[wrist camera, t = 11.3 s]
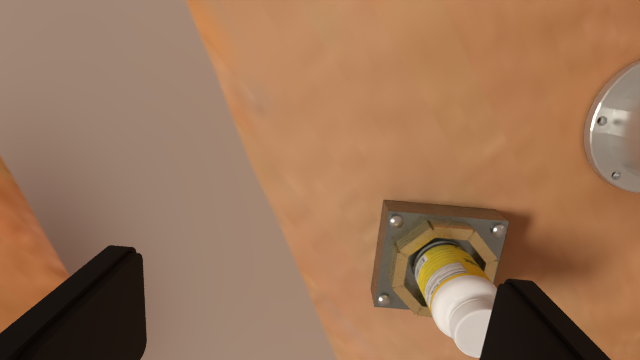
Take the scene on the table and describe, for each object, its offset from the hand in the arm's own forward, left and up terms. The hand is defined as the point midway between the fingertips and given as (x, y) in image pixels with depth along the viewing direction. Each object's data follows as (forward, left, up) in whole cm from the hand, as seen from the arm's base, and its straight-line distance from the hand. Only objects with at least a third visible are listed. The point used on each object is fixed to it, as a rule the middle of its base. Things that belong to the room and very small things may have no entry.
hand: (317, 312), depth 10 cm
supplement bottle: (-12, +10, -24) cm, 28 cm away
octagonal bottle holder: (-12, +10, -26) cm, 31 cm away
